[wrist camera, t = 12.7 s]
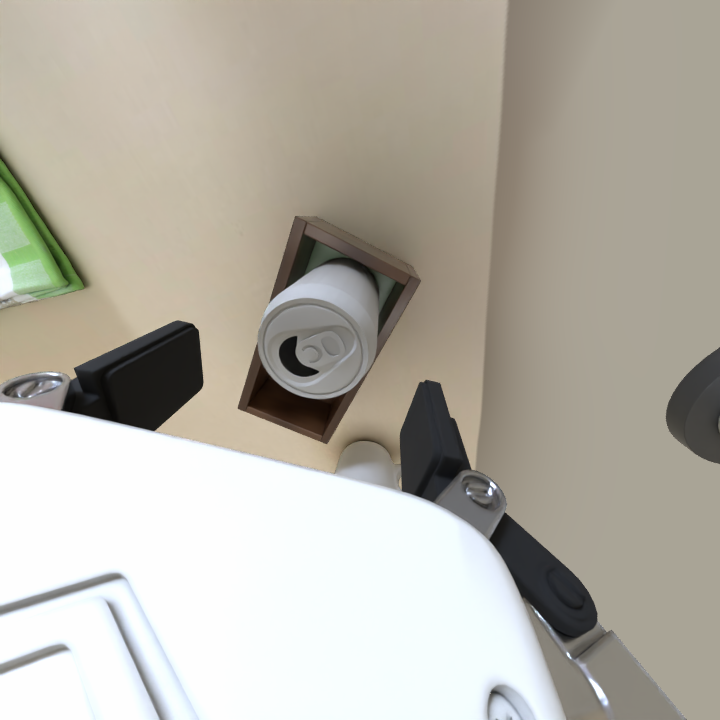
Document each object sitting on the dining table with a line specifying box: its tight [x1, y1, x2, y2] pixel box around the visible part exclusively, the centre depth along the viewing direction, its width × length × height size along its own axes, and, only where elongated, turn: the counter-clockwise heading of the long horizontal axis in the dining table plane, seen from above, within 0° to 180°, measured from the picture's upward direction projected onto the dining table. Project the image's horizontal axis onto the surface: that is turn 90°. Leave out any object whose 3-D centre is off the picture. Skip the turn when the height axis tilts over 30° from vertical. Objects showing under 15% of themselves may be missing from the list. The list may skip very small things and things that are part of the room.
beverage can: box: [258, 258, 379, 399], centre depth 18 cm, size 6×6×12 cm
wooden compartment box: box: [238, 216, 421, 444], centre depth 24 cm, size 9×18×6 cm, turn 155°
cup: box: [335, 441, 402, 491], centre depth 31 cm, size 11×8×8 cm
